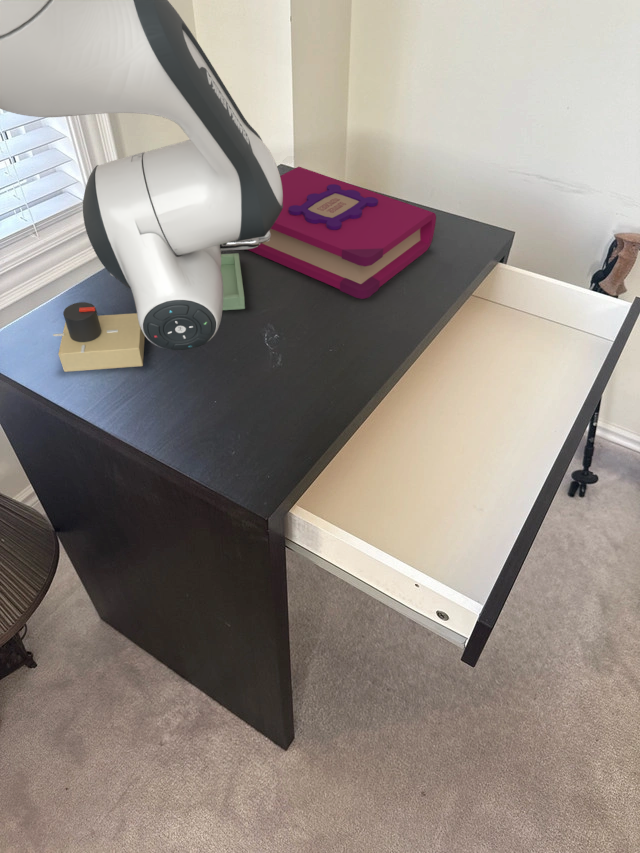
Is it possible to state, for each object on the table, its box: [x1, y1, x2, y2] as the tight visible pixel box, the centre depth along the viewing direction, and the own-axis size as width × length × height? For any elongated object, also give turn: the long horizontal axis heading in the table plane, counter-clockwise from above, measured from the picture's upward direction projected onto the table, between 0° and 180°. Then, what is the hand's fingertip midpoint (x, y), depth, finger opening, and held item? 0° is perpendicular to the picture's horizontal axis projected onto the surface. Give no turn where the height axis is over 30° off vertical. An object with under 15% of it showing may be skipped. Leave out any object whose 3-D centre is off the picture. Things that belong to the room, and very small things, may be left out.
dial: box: [62, 301, 101, 342], centre depth 82 cm, size 4×4×4 cm
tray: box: [221, 252, 246, 311], centre depth 96 cm, size 15×13×2 cm
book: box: [244, 166, 437, 300], centre depth 105 cm, size 21×28×8 cm
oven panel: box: [52, 312, 146, 373], centre depth 84 cm, size 11×8×3 cm
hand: (181, 194), depth 81 cm, fingers closed on box, 8 cm apart
